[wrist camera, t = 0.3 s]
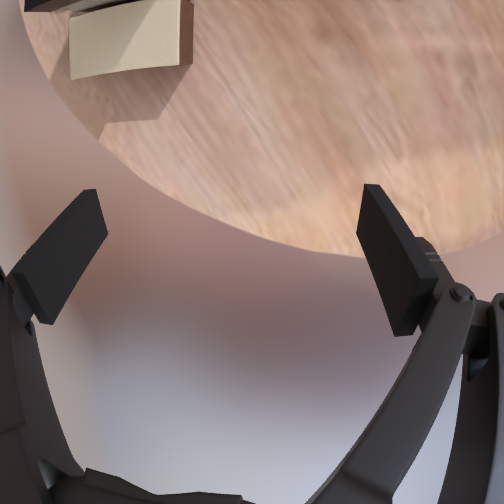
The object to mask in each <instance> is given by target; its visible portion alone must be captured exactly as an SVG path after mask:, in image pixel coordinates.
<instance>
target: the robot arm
mask: <svg viewBox="0 0 504 504" xmlns="http://www.w3.org/2000/svg"><path fill="white" fill-rule="evenodd" d="M356 234H357V237H358V239H359V241H360V244H361V246H362V249H363V251H364V254H365V256H366V259H367V261H368V264H369V266H370V269H371V272H372V274H373V277H374V280H375V282H376V285H377V288H378V290H379V293H380V296H381V299H382V301H383V304H384V307H385V310H386V313H387V316H388V319H389V322H390V325H391V328H392V331H393V334H394V336H395V337H397V336H408V335H413V333H414V331H415V329H416V327H417V326H418V324H419V327H420V329H421V332H422V333H421V335H420V337H419V339H418V341H417V342H416V344H415V346H414V348H413V350H412V353H411V354H410V356H409V358H408V360H407V362H406V364H405V366H404V367H403V369H402V371H401V373H400V374H399V376H398V378H397V379H396V381H395V383H394V385H393V386H392V388H391V390H390V392H389V393H388V395H387V396H386V398H385V399H384V401H383V403H382V404H381V406H380V407H379V409H378V411H377V412H376V413H375V415H374V417H373V418H372V420H371V421H370V423H369V424H368V425H367V427H366V428H365V430H364V431H363V433H362V434H361V436H360V437H359V438H358V440H357V441H356V443H355V444H354V445H353V447H352V448H351V449H350V451H349V452H348V453H347V455H346V456H345V458H344V459H343V460H342V461H341V462H340V464H339V465H338V466H337V467H336V469H335V470H334V471H333V473H332V474H331V475H330V476H329V477H328V478H327V480H326V481H325V482H324V483H323V484H322V486H321V487H320V488H319V489H318V490H317V491H316V492H315V493H314V495H312V496H311V498H310V499H309V500H308V501H307V502H306V503H305V504H392V497H393V495H394V493H395V491H396V489H397V488H398V486H399V485H400V483H401V481H402V480H403V478H404V476H405V475H406V473H407V471H408V470H409V468H410V466H411V465H412V463H413V461H414V460H415V458H416V456H417V454H418V452H419V450H420V449H421V447H422V445H423V443H424V441H425V439H426V437H427V435H428V433H429V431H430V429H431V427H432V425H433V423H434V421H435V419H436V417H437V414H438V412H439V410H440V408H441V405H442V403H443V401H444V399H445V396H446V394H447V391H448V389H449V386H450V384H451V381H452V379H453V376H454V373H455V371H456V367H457V365H458V362H459V360H460V357H461V354H463V367H462V380H461V390H460V399H459V407H458V414H457V421H456V427H455V433H454V439H453V444H452V449H451V453H450V458H449V463H448V467H447V471H446V475H445V479H444V482H443V486H442V490H441V493H440V496H439V500H438V503H437V504H504V293H498V294H496V295H495V296H494V298H493V300H492V302H491V303H490V302H486V301H481V300H477V299H476V297H475V295H474V293H473V292H472V291H471V290H470V289H469V288H468V287H466V286H465V285H463V284H460V283H456V282H455V281H454V279H453V278H452V276H451V275H450V273H449V271H448V270H447V268H446V266H445V265H444V263H443V262H442V261H441V258H440V257H439V255H437V252H436V250H435V249H434V247H433V246H432V244H430V243H429V242H428V241H427V240H425V239H424V238H423V237H415V236H414V235H413V233H412V231H411V230H410V228H409V227H408V225H407V224H406V222H405V221H404V219H403V218H402V216H401V215H400V213H399V212H398V210H397V209H396V207H395V206H394V205H393V203H392V202H391V200H390V199H389V197H388V196H387V195H386V193H385V192H384V190H383V189H382V188H381V186H380V185H376V184H364V189H363V196H362V202H361V208H360V214H359V220H358V226H357V231H356ZM107 235H108V231H107V228H106V225H105V221H104V218H103V215H102V210H101V207H100V203H99V199H98V196H97V192H96V189H89V190H83V192H82V193H80V194H79V195H78V196H77V197H76V198H75V199H74V200H73V201H72V203H70V205H69V206H68V207H67V208H66V209H65V210H64V211H63V212H62V213H61V214H60V215H59V216H58V217H57V218H56V219H55V220H54V222H53V223H52V224H51V225H50V226H49V227H48V228H47V229H46V230H45V232H44V233H43V234H42V235H41V236H40V237H39V238H38V240H37V241H36V242H35V243H34V244H33V245H31V247H30V248H29V249H28V250H27V251H26V254H24V255H23V256H22V258H21V260H19V261H18V262H17V264H16V265H15V266H14V268H13V269H12V270H11V272H10V273H9V274H8V275H7V277H6V276H5V274H4V272H3V270H2V268H1V266H0V504H255V503H252V502H249V501H245V500H243V498H242V496H241V495H230V494H217V493H206V492H192V493H181V494H166V495H156V494H152V493H150V492H148V491H146V490H144V489H142V488H139V487H138V486H135V485H133V484H131V483H130V482H127V481H126V480H124V479H122V478H120V477H117V476H113V475H109V474H106V473H102V472H99V471H96V470H92V469H89V468H86V471H85V472H84V471H83V469H82V468H81V467H80V466H79V465H78V463H77V462H76V461H75V459H74V458H73V456H72V454H71V451H70V449H69V447H68V444H67V441H66V439H65V436H64V434H63V431H62V428H61V425H60V423H59V420H58V417H57V414H56V411H55V408H54V405H53V401H52V398H51V395H50V391H49V388H48V384H47V381H46V377H45V373H44V369H43V366H42V361H41V357H40V353H39V348H38V343H37V339H36V333H35V328H34V324H33V322H32V321H31V317H32V315H33V314H35V315H36V317H37V319H38V321H39V322H40V323H43V324H50V325H53V324H54V322H55V320H56V318H57V316H58V315H59V313H60V311H61V309H62V308H63V306H64V304H65V302H66V301H67V299H68V297H69V295H70V294H71V292H72V290H73V289H74V287H75V285H76V283H77V282H78V280H79V279H80V277H81V275H82V274H83V272H84V271H85V269H86V267H87V265H88V264H89V263H90V261H91V260H92V258H93V256H94V255H95V253H96V252H97V250H98V249H99V247H100V246H101V244H102V243H103V241H104V240H105V238H106V237H107Z"/></svg>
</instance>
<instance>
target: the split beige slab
mask: <svg viewBox="0 0 504 504" xmlns="http://www.w3.org/2000/svg"><path fill="white" fill-rule="evenodd" d="M87 12H90V13H86V14H83V15H79V16H76V17H73V18H70V19H69V55H70V77H71V80H75V79H79V78H84V77H89V76H95V75H100V74H106V73H112V72H118V71H125V70H133V69H141V68H150V67H160V66H173V65H183V64H192V63H193V15H194V4H192V3H191V2H189V1H187V0H128V1H124V2H119V3H115V4H111V5H106V6H102V7H99V8H95V9H91V10H88V11H87Z"/></svg>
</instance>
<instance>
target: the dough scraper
mask: <svg viewBox="0 0 504 504" xmlns="http://www.w3.org/2000/svg"><path fill="white" fill-rule="evenodd" d="M124 1H128V0H25V6H24V12H51V11H54V10H71V11H83V12H84V11H88V10H91V9H95V8H99V7H102V6H106V5H111V4H115V3H119V2H124Z"/></svg>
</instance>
